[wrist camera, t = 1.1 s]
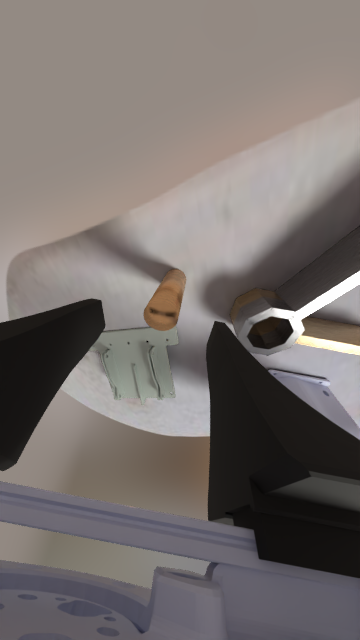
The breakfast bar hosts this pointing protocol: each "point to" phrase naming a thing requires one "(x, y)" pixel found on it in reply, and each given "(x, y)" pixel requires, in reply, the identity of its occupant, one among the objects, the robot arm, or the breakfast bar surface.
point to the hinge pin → (166, 302)
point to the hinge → (302, 306)
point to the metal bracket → (137, 362)
